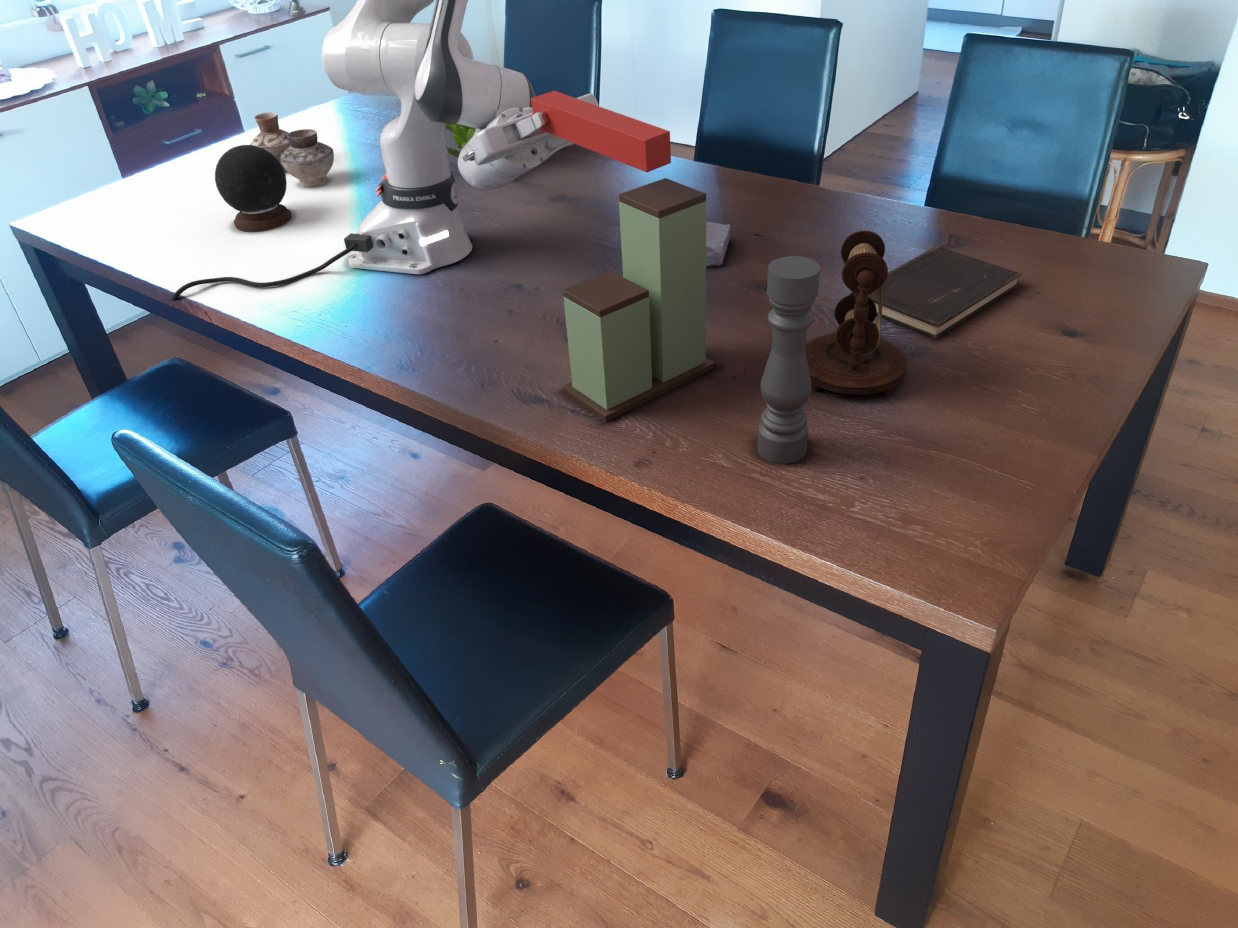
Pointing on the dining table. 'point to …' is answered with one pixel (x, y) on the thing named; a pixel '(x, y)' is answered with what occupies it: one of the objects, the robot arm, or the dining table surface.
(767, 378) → the candle holder
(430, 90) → the robot arm
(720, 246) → the stone block
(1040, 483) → the dining table surface
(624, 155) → the red bar
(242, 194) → the black ball on stand
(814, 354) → the scroll
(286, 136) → the pottery
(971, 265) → the hardcover book
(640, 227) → the step shelf
